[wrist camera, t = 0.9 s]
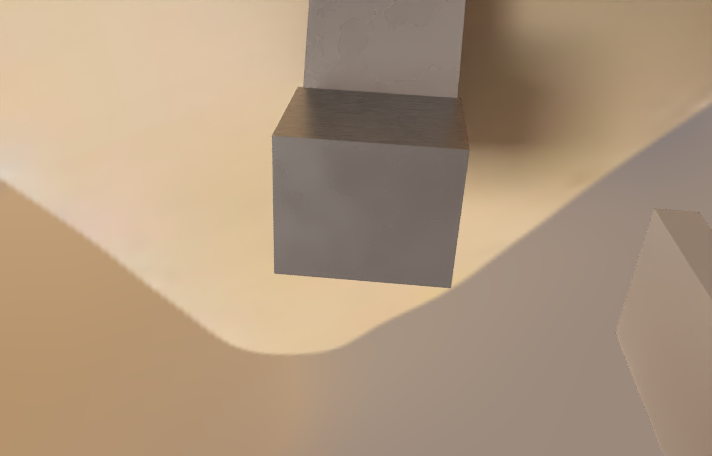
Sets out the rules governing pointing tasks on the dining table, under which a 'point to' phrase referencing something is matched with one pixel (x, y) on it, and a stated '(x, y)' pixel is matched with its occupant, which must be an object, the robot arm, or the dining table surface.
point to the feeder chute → (373, 145)
